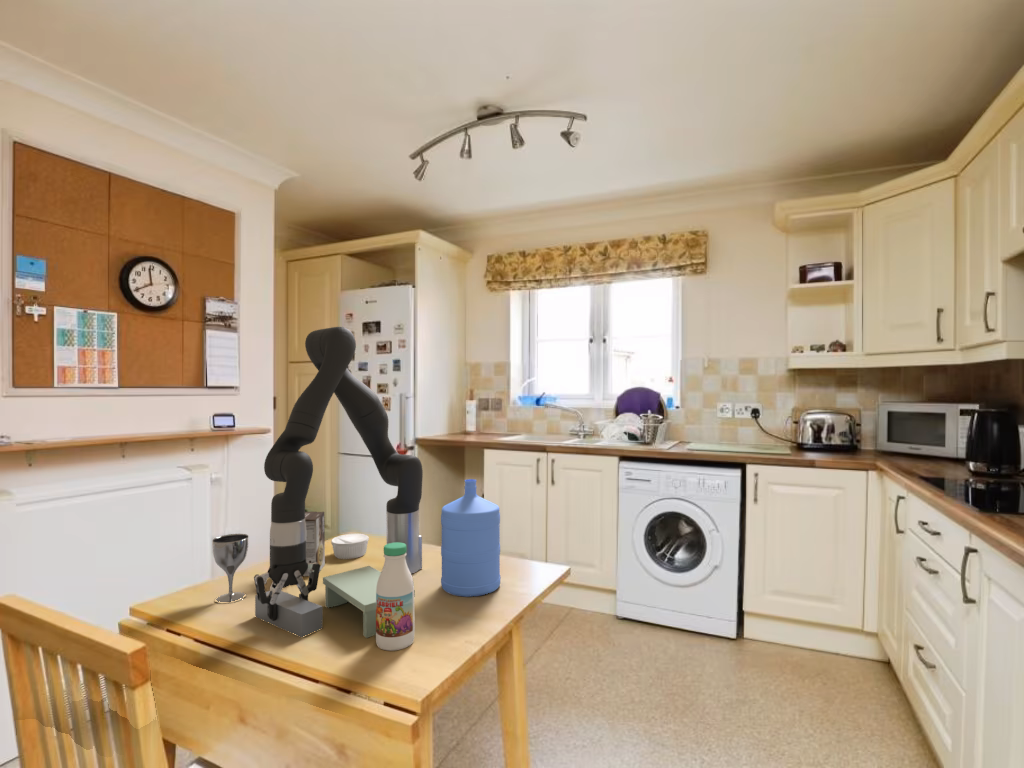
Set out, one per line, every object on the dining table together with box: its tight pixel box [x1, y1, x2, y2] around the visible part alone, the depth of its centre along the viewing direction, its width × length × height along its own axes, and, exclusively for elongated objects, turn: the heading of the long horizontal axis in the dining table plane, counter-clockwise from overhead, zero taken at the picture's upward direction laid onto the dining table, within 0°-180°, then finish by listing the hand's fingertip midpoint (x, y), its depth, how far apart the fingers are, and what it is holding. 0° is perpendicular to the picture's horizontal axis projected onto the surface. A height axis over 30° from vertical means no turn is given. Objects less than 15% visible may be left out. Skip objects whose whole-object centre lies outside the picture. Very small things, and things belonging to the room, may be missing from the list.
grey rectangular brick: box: [254, 590, 324, 638], centre depth 115 cm, size 5×18×5 cm, turn 56°
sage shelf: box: [322, 565, 416, 639], centre depth 119 cm, size 12×22×7 cm, turn 42°
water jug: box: [440, 478, 502, 598], centre depth 136 cm, size 16×16×28 cm
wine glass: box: [211, 533, 249, 602], centre depth 129 cm, size 8×8×15 cm
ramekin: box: [330, 533, 370, 560], centre depth 162 cm, size 11×11×5 cm
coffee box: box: [303, 511, 326, 577], centre depth 148 cm, size 9×6×16 cm
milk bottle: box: [375, 542, 415, 652], centre depth 106 cm, size 8×8×20 cm
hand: (287, 615), depth 115 cm, fingers closed on grey rectangular brick, 5 cm apart
